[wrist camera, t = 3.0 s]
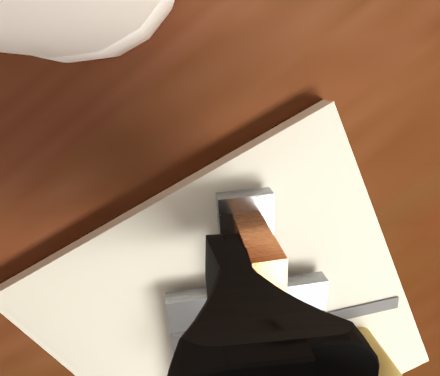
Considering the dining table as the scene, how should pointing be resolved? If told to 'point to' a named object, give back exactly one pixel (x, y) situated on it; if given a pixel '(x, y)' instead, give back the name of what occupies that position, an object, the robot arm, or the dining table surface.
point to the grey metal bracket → (258, 253)
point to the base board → (195, 257)
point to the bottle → (78, 27)
